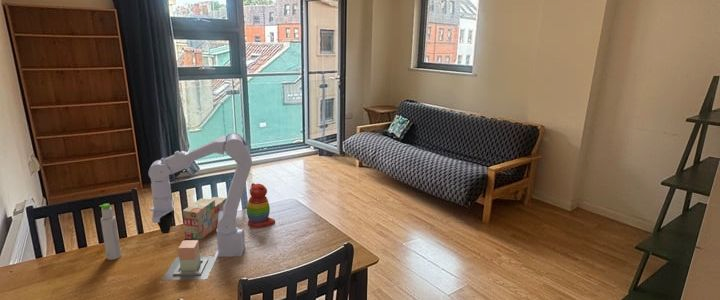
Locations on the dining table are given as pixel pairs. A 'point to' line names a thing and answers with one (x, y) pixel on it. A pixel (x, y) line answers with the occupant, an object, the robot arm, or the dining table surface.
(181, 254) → the peach block
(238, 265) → the dining table surface
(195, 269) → the sage brick
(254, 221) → the stacking bear
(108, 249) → the bottle
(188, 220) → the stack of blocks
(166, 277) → the baseplate
